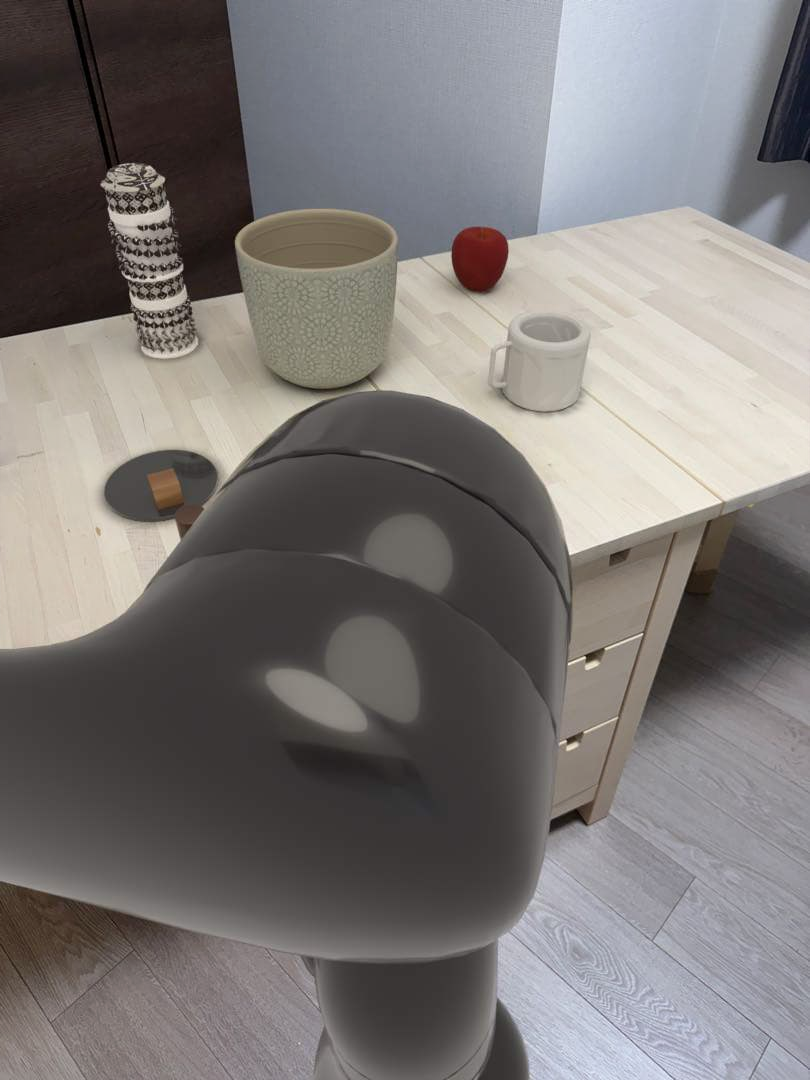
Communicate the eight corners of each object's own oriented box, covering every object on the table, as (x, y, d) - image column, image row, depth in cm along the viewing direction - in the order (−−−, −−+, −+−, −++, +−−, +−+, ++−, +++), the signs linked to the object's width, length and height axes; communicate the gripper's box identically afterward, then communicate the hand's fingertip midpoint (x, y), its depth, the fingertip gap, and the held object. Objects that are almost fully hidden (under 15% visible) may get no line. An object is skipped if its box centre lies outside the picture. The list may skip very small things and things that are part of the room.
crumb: (184, 503, 85) (179, 482, 83) (158, 510, 84) (152, 490, 82) (178, 488, 87) (173, 467, 85) (152, 495, 86) (146, 474, 84)
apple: (512, 297, 126) (519, 237, 119) (458, 302, 125) (462, 242, 118) (494, 274, 133) (500, 216, 126) (443, 278, 131) (446, 221, 124)
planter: (424, 359, 110) (428, 229, 97) (338, 424, 98) (329, 285, 85) (315, 321, 119) (306, 197, 106) (223, 377, 106) (199, 243, 93)
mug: (557, 367, 109) (568, 303, 102) (592, 406, 102) (607, 339, 95) (471, 381, 106) (477, 316, 99) (501, 422, 99) (509, 354, 92)
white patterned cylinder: (206, 330, 116) (174, 157, 99) (194, 360, 109) (157, 180, 92) (147, 330, 116) (105, 157, 99) (132, 359, 109) (83, 179, 92)
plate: (132, 537, 81) (131, 534, 81) (88, 478, 89) (87, 475, 88) (237, 492, 87) (237, 488, 87) (188, 440, 95) (187, 437, 94)
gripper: (405, 723, 47) (314, 562, 58) (183, 816, 43) (128, 623, 53) (404, 783, 52) (321, 625, 63) (206, 872, 48) (152, 685, 59)
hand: (232, 624), depth 58 cm, fingers open, 8 cm apart
